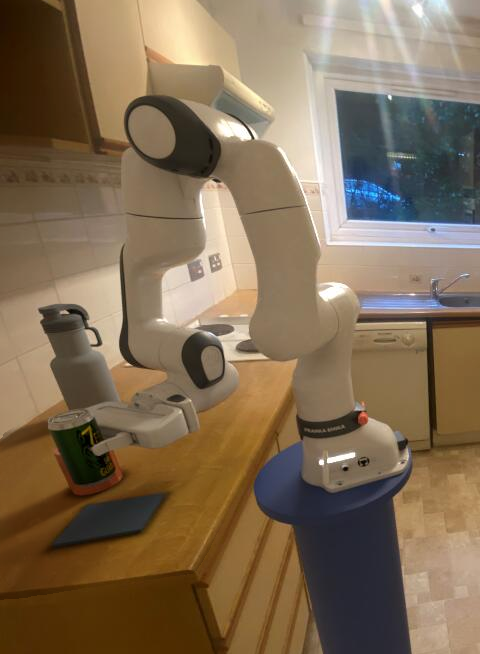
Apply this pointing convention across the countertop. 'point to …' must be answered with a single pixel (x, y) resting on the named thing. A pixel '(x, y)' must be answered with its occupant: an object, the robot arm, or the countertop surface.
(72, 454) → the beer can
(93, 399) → the water bottle
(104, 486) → the terracotta cup
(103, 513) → the slate mat
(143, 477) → the countertop surface
